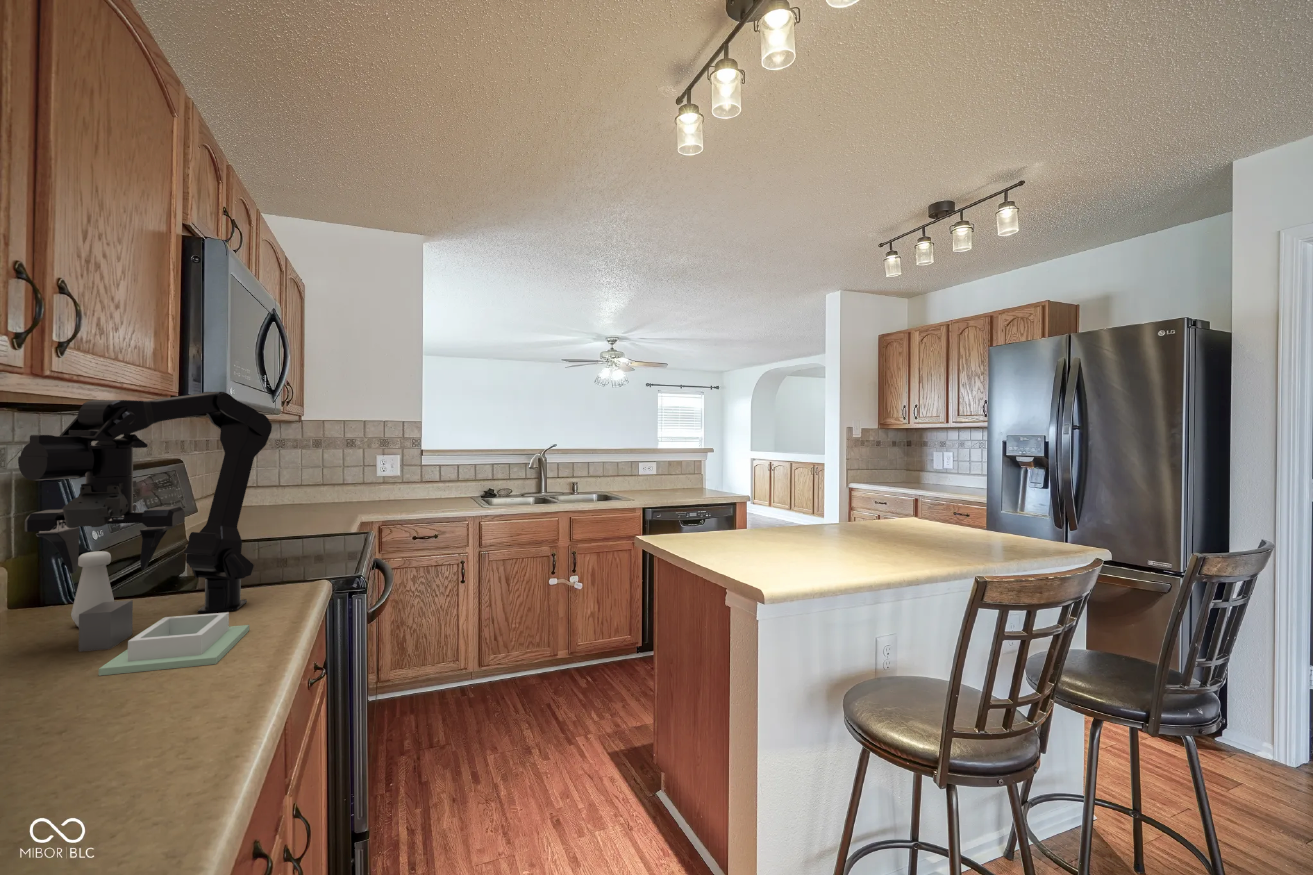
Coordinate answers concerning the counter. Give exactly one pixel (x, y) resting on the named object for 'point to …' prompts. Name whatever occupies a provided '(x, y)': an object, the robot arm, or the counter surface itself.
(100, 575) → the salt shaker
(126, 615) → the chute block
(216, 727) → the counter surface
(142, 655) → the deck plate
